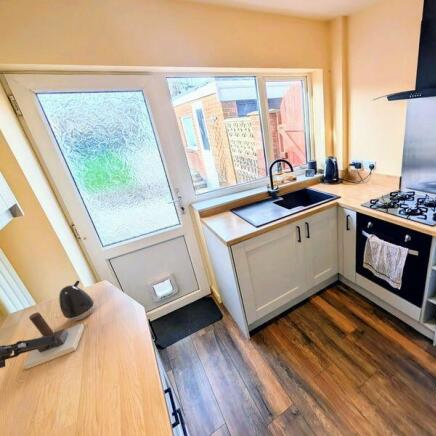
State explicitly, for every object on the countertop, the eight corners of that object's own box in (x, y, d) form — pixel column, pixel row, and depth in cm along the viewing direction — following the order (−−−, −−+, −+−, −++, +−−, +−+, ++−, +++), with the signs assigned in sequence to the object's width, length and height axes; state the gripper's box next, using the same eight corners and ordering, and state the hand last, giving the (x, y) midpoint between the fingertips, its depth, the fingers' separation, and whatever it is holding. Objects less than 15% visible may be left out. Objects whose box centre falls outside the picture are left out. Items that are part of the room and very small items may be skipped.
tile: (26, 369, 84) (22, 365, 83) (40, 342, 94) (37, 339, 93) (75, 350, 89) (73, 346, 88) (84, 326, 99) (82, 323, 98)
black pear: (103, 305, 109) (88, 278, 103) (83, 324, 100) (65, 296, 93) (83, 305, 111) (67, 278, 104) (62, 324, 101) (42, 296, 95)
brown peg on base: (39, 352, 87) (17, 324, 81) (45, 342, 91) (24, 314, 85) (63, 344, 89) (43, 316, 83) (68, 334, 93) (49, 306, 88)
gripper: (-107, 404, 54) (-21, 384, 73) (36, 351, 63) (79, 346, 82) (-104, 368, 56) (-22, 358, 75) (34, 322, 65) (76, 323, 84)
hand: (31, 352), depth 79 cm, fingers open, 13 cm apart
